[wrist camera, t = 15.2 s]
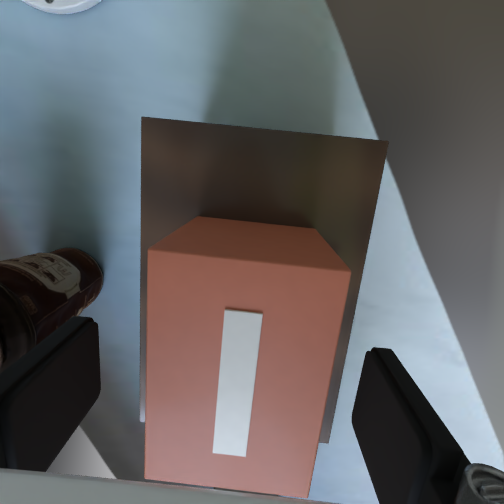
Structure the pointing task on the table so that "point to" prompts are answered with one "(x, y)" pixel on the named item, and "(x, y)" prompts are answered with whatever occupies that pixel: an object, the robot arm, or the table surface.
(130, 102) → the table surface
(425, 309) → the table surface
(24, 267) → the coffee cup
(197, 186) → the slatted side table
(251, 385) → the tissue box
